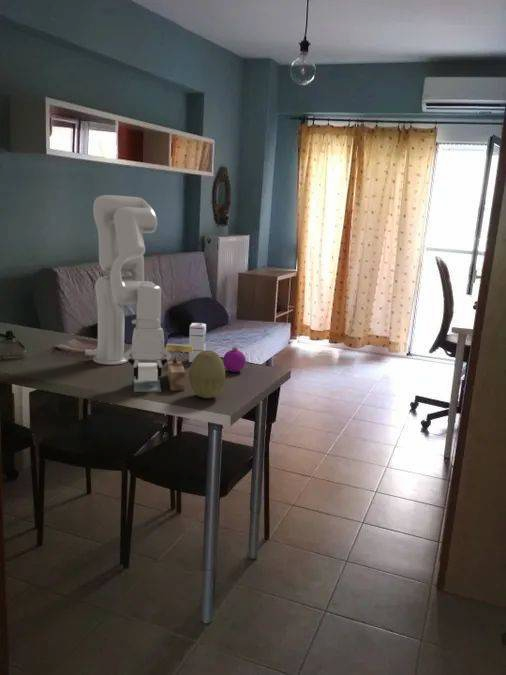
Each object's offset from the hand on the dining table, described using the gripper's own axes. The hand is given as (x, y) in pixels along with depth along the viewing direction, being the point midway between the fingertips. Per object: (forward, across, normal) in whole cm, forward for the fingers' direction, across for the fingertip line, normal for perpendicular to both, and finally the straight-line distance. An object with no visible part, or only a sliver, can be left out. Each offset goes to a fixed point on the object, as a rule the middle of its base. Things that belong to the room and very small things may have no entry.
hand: (147, 377), depth 191 cm
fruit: (+3, +18, -11) cm, 21 cm away
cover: (-1, 0, -1) cm, 1 cm away
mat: (+3, 0, 0) cm, 3 cm away
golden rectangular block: (-2, +11, +10) cm, 15 cm away
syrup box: (+3, +19, +32) cm, 38 cm away
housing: (+3, +9, +4) cm, 11 cm away
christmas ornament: (+3, +31, +18) cm, 36 cm away
